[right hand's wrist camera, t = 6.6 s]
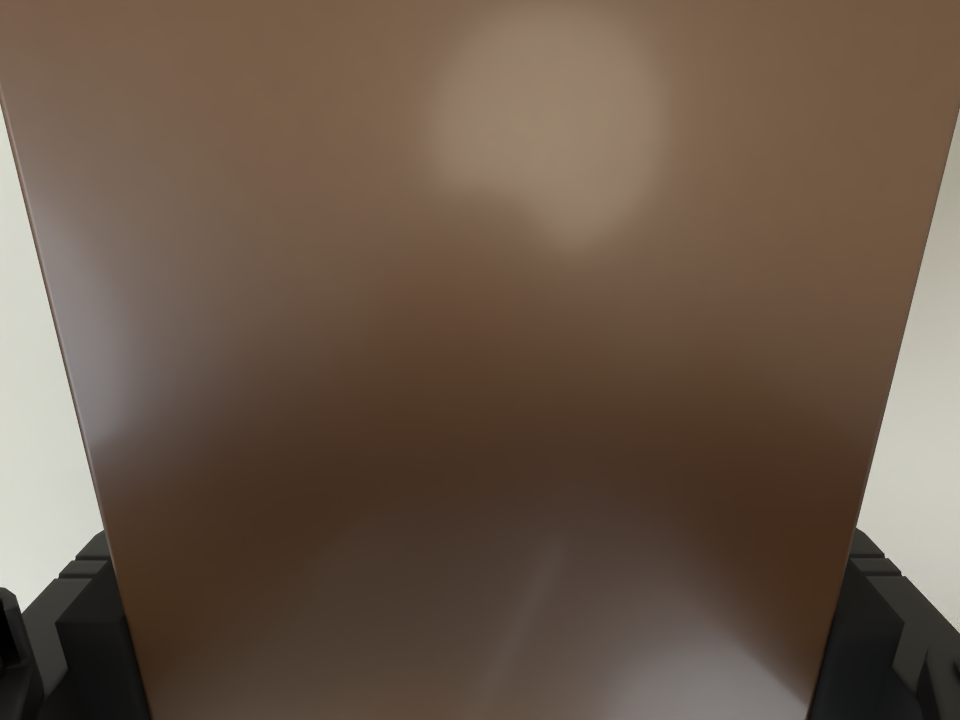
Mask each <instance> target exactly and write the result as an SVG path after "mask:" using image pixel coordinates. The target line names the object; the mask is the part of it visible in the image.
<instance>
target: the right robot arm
mask: <svg viewBox="0 0 960 720" xmlns="http://www.w3.org/2000/svg"><path fill="white" fill-rule="evenodd" d="M0 720H151V719H150V715H149V711H148V707H147V702H146V698H145V694H144V690H143V686H142V682H141V678H140V674H139V670H138V666H137V661H136V657H135V653H134V649H133V645H132V641H131V637H130V633H129V629H128V625H127V620H126V616H125V612H124V608H123V604H122V600H121V596H120V592H119V588H118V584H117V579H116V575H115V571H114V567H113V563H112V559H111V555H110V551H109V547H108V543H107V539H106V534H105V530H103V531H101V532H100V533H98V534H97V535H95V536H94V537H93V538H92V540H91V541H90V542H89V543H88V544H87V545H86V546H85V547H84V548H83V549H82V550H81V551H80V552H79V553H78V554H77V555H76V559H75V561H71V562H70V563H69V564H68V565H67V566H66V567H65V568H64V569H63V570H62V571H61V572H60V574H59V578H58V579H54V580H53V581H52V582H51V583H50V584H49V585H48V586H47V587H46V588H45V589H44V591H43V592H42V593H41V594H40V595H39V596H38V597H37V598H36V599H35V600H34V601H33V602H32V603H31V604H30V605H29V606H28V608H27V609H26V610H25V611H24V612H23V613H22V614H21V611H20V608H19V605H18V602H17V598H16V595H14V594H13V593H12V592H10V591H9V590H7V589H6V588H2V587H0ZM808 720H960V633H959V632H958V631H957V630H956V629H955V628H954V627H953V626H952V625H951V624H950V623H949V622H948V621H947V620H946V619H945V618H944V616H943V615H942V614H941V613H940V612H939V611H938V610H937V609H936V608H935V607H934V606H933V605H932V604H931V603H930V602H929V601H928V600H927V598H926V597H925V596H924V595H923V594H922V593H921V592H920V591H919V590H918V589H917V588H916V587H915V586H914V585H913V584H912V583H911V582H910V581H909V579H908V578H907V577H906V576H902V575H901V571H900V570H899V569H898V568H897V567H896V566H895V565H894V564H893V563H892V561H891V560H890V559H889V558H885V556H884V553H883V552H882V551H881V550H880V549H879V548H878V547H877V546H876V545H875V544H874V542H873V541H872V540H871V539H870V538H869V537H868V536H867V535H866V534H865V533H864V532H862V531H861V530H859V529H857V528H856V529H855V533H854V537H853V541H852V545H851V549H850V554H849V558H848V562H847V566H846V570H845V574H844V578H843V582H842V586H841V590H840V594H839V598H838V602H837V606H836V610H835V614H834V618H833V622H832V626H831V630H830V634H829V638H828V643H827V647H826V651H825V655H824V659H823V663H822V667H821V671H820V675H819V679H818V683H817V687H816V691H815V695H814V699H813V703H812V707H811V711H810V715H809V719H808Z"/></svg>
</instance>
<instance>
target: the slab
mask: <svg viewBox="0 0 960 720" xmlns="http://www.w3.org/2000/svg"><path fill="white" fill-rule="evenodd" d="M0 104H1V108H2V112H3V117H4V121H5V125H6V129H7V133H8V137H9V141H10V145H11V149H12V153H13V157H14V162H15V166H16V170H17V174H18V178H19V182H20V186H21V190H22V194H23V198H24V203H25V207H26V211H27V215H28V219H29V223H30V227H31V231H32V235H33V239H34V244H35V248H36V252H37V256H38V260H39V264H40V268H41V272H42V276H43V280H44V284H45V289H46V293H47V297H48V301H49V305H50V309H51V313H52V317H53V321H54V325H55V330H56V334H57V338H58V342H59V346H60V350H61V354H62V358H63V362H64V366H65V371H66V375H67V379H68V383H69V387H70V391H71V395H72V399H73V403H74V407H75V412H76V416H77V420H78V424H79V428H80V432H81V436H82V440H83V444H84V448H85V452H86V457H87V461H88V465H89V469H90V473H91V477H92V481H93V485H94V489H95V493H96V498H97V502H98V506H99V510H100V514H101V518H102V522H103V526H104V530H105V534H106V539H107V543H108V547H109V551H110V555H111V559H112V563H113V567H114V571H115V575H116V579H117V584H118V588H119V592H120V596H121V600H122V604H123V608H124V612H125V616H126V620H127V625H128V629H129V633H130V637H131V641H132V645H133V649H134V653H135V657H136V661H137V666H138V670H139V674H140V678H141V682H142V686H143V690H144V694H145V698H146V702H147V707H148V711H149V715H150V719H151V720H808V719H809V715H810V711H811V707H812V703H813V699H814V695H815V691H816V687H817V683H818V679H819V675H820V671H821V667H822V663H823V659H824V655H825V651H826V647H827V643H828V638H829V634H830V630H831V626H832V622H833V618H834V614H835V610H836V606H837V602H838V598H839V594H840V590H841V586H842V582H843V578H844V574H845V570H846V566H847V562H848V558H849V554H850V549H851V545H852V541H853V537H854V533H855V529H856V525H857V521H858V517H859V513H860V509H861V505H862V501H863V497H864V493H865V489H866V485H867V481H868V477H869V473H870V469H871V465H872V460H873V456H874V452H875V448H876V444H877V440H878V436H879V432H880V428H881V424H882V420H883V416H884V412H885V408H886V404H887V400H888V396H889V392H890V388H891V384H892V380H893V376H894V372H895V367H896V363H897V359H898V355H899V351H900V347H901V343H902V339H903V335H904V331H905V327H906V323H907V319H908V315H909V311H910V307H911V303H912V299H913V295H914V291H915V287H916V283H917V278H918V274H919V270H920V266H921V262H922V258H923V254H924V250H925V246H926V242H927V238H928V234H929V230H930V226H931V222H932V218H933V214H934V210H935V206H936V202H937V198H938V194H939V189H940V185H941V181H942V177H943V173H944V169H945V165H946V161H947V157H948V153H949V149H950V145H951V141H952V137H953V133H954V129H955V125H956V121H957V117H958V113H959V109H960V0H0Z"/></svg>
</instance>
